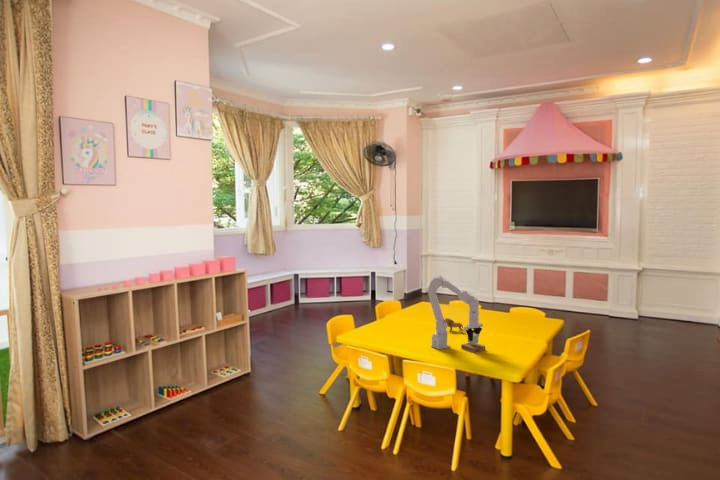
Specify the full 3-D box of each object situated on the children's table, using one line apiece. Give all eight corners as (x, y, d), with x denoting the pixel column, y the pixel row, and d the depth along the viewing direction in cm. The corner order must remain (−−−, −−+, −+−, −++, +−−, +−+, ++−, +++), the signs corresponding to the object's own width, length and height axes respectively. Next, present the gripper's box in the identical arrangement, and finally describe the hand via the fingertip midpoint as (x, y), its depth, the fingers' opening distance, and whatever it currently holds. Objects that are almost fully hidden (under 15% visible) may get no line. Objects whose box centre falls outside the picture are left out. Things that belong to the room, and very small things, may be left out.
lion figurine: (443, 331, 311) (444, 318, 310) (445, 329, 316) (445, 317, 315) (465, 333, 305) (465, 320, 305) (466, 331, 310) (466, 318, 310)
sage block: (473, 343, 269) (473, 335, 269) (467, 341, 273) (467, 333, 273) (478, 342, 272) (478, 334, 272) (472, 340, 276) (472, 332, 275)
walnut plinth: (473, 353, 266) (473, 349, 265) (461, 349, 274) (461, 344, 274) (485, 350, 271) (485, 345, 271) (472, 346, 280) (472, 341, 279)
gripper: (470, 321, 264) (470, 343, 265) (486, 317, 272) (486, 339, 273) (461, 318, 269) (461, 340, 271) (477, 315, 278) (477, 336, 279)
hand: (473, 339), depth 272 cm, fingers closed on sage block, 4 cm apart
